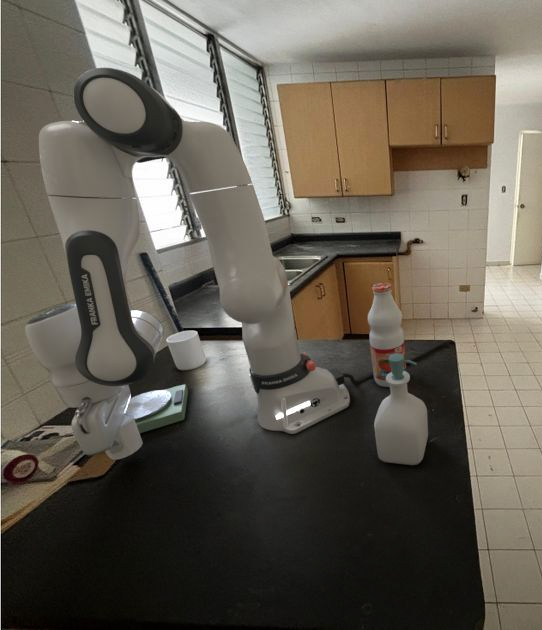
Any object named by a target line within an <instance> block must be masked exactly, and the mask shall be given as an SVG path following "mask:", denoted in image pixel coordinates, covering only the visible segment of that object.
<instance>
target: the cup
mask: <svg viewBox="0 0 542 630" xmlns="http://www.w3.org/2000/svg"><path fill="white" fill-rule="evenodd" d="M165 341H166V344H167V347H168V349H169V352H170V354H171V357H172V359H173V362H174V365H175V367H176V368H177V370H178V371H190V370H193V369H197V368H199V367H201V366H203V365H204V364H205V363H206V361H207V356H206V354H205V351H204V347H203V345H202V342H201V339H200V336H199V334H198V331H196V330H183V331H179V332H175V333H174V334H171V335H169V336H168V337H167V338H166V340H165Z"/></svg>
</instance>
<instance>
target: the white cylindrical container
mask: <svg viewBox="0 0 542 630" xmlns="http://www.w3.org/2000/svg"><path fill="white" fill-rule="evenodd" d="M117 439H118V440H119V441H121V443H122V445H123V450H122V451H121V452H118V453H115V454H112V453H111V451H110V450H106V451H104V453H105V454H106V456H108V458H109V459H110V460H122V459H124V458H127V457H129V456H131V455H133V454H135V453H136V452H137V451H139V449H140V448H142V446H143V443H144V442H143V439H142V436H141V433H139V431H138V428H137V425H136V422H135V419H134V417H133V414H131V413H125V414H124V416H123V419H122V422H121V424H120V427H119V429H118V432H117Z"/></svg>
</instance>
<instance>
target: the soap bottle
mask: <svg viewBox="0 0 542 630" xmlns="http://www.w3.org/2000/svg"><path fill="white" fill-rule="evenodd" d="M404 362H405V363H408V364H411V365H414V366H417V365H418V363H417V362H415V361H410V360H409V359H406V360H404V356H403V355H402V354H392V355H390V356H389V363H390V367H391V371H392V372H391V373H389V374H388V375H387V376H386V382H387V383H388V384H390V387H389V391H390V394H389V395H388V396H386V397H385V398H384V399H383V400H382V401H381V402H380V404H379V406H378V409H377V412H376V415H375V418H374V422H373V427H374V436H375V445H376V451H377V457H378V459H379V460H380V461H381V462H383V463H389V464H398V465H405V466H408V465H409V466H416V465H419V464H420V463H421V462H422V461H423V459H424V456H425V452H426V446H427V442H428V439H429V427H428V425H429V424H428V409H427V406H426V404H425V402H424V401H423V400H422V399H420V398H419V397H417V396H415V395H414V394H411V393H409V391H408V383H409V381H410V380H411V375H410V373H409V372H408V371H407V372H405V371H403V364H404Z"/></svg>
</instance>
